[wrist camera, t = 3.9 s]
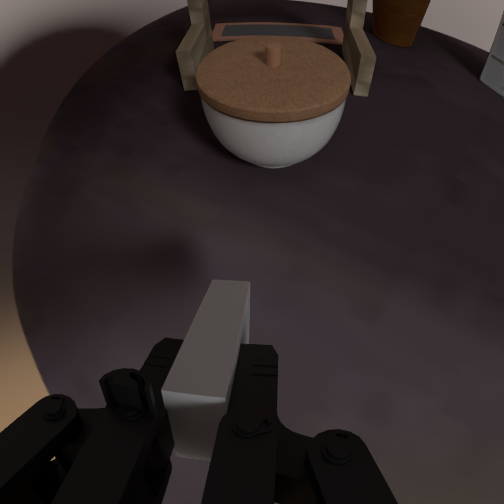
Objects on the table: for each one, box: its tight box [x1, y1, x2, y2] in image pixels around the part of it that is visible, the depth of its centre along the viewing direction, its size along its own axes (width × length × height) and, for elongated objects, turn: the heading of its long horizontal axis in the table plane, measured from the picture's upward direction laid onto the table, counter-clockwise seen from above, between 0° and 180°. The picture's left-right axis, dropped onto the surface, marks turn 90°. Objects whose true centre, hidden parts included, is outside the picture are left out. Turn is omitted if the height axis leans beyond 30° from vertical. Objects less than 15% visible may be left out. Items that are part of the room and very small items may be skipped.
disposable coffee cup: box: [372, 0, 430, 47], centre depth 31 cm, size 10×10×12 cm
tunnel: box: [176, 0, 376, 97], centre depth 26 cm, size 19×10×14 cm, turn 86°
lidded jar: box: [195, 36, 351, 168], centre depth 22 cm, size 11×11×9 cm
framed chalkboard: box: [212, 22, 344, 45], centre depth 36 cm, size 18×6×1 cm, turn 86°
